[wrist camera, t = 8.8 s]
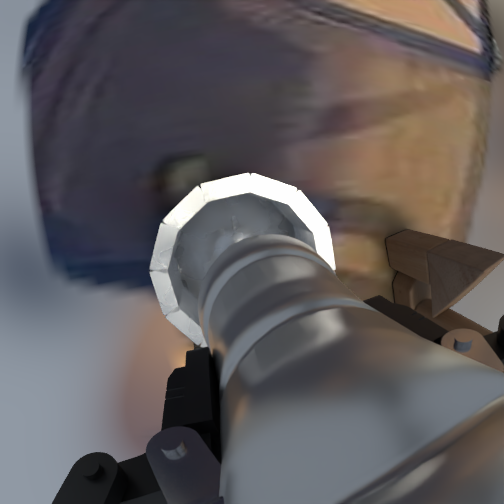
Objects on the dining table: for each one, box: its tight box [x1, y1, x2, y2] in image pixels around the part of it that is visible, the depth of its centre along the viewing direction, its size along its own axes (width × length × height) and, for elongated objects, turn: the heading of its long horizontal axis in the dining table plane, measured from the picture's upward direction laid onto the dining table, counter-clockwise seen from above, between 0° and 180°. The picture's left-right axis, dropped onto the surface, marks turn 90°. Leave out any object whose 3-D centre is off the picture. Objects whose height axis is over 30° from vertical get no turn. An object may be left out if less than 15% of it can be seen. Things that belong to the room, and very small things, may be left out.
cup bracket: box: [149, 173, 336, 350], centre depth 22 cm, size 16×12×12 cm
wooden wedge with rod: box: [386, 229, 504, 336], centre depth 23 cm, size 4×11×18 cm, turn 18°
